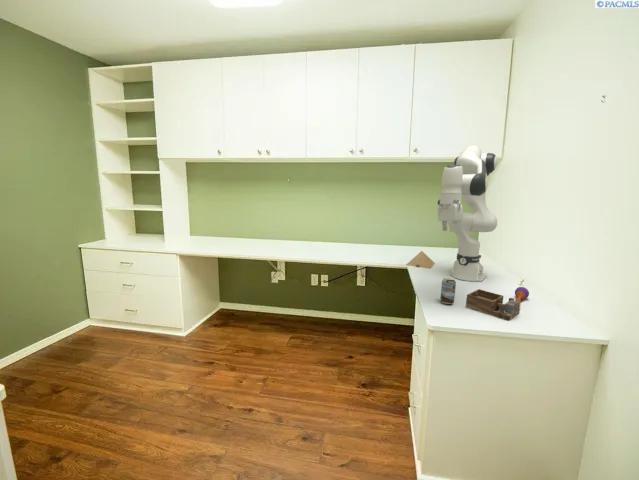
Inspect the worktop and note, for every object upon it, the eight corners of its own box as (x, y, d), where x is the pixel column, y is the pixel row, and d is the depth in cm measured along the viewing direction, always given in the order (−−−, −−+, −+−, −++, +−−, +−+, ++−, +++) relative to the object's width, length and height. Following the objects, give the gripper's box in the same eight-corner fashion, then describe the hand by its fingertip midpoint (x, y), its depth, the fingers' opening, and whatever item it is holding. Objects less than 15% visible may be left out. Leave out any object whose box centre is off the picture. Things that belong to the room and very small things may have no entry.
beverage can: (441, 305, 146) (444, 280, 143) (438, 299, 153) (440, 275, 151) (455, 306, 145) (458, 281, 142) (451, 300, 152) (454, 276, 150)
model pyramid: (405, 265, 213) (406, 251, 212) (411, 260, 228) (412, 247, 226) (430, 269, 205) (431, 254, 203) (435, 264, 220) (436, 250, 218)
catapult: (477, 301, 152) (478, 289, 151) (519, 313, 138) (521, 300, 137) (465, 307, 144) (467, 294, 143) (508, 320, 131) (510, 307, 130)
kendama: (507, 298, 145) (515, 285, 160) (508, 310, 146) (516, 296, 161) (522, 299, 141) (529, 285, 156) (523, 312, 142) (530, 297, 157)
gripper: (468, 200, 132) (465, 232, 133) (449, 202, 153) (447, 230, 154) (452, 199, 132) (450, 232, 133) (436, 201, 153) (434, 230, 154)
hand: (448, 231), depth 144 cm, fingers open, 8 cm apart
